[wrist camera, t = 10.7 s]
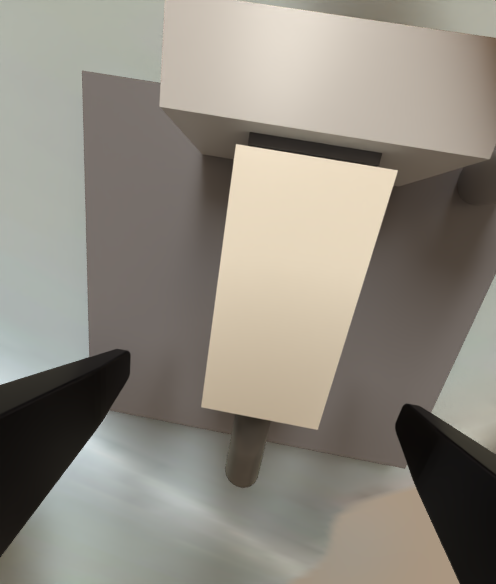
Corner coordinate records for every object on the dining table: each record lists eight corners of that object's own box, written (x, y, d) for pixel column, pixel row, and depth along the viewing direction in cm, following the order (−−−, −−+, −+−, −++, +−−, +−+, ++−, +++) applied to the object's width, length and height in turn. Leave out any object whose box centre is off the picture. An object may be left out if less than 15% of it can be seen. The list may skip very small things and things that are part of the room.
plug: (280, 441, 13) (286, 529, 9) (210, 427, 13) (187, 509, 9) (345, 192, 10) (398, 170, 6) (248, 176, 10) (235, 143, 6)
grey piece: (395, 451, 14) (462, 569, 9) (102, 394, 15) (21, 477, 10) (526, 152, 10) (785, 79, 5) (99, 85, 10) (-51, -41, 5)
